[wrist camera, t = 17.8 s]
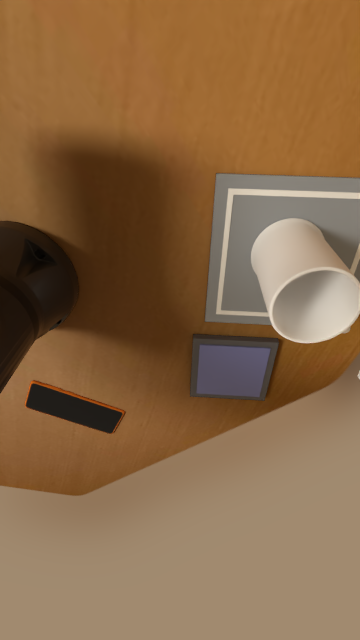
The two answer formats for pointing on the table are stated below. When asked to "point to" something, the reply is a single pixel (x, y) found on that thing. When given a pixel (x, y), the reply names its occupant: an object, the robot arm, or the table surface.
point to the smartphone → (72, 407)
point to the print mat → (256, 215)
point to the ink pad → (232, 366)
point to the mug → (304, 282)
